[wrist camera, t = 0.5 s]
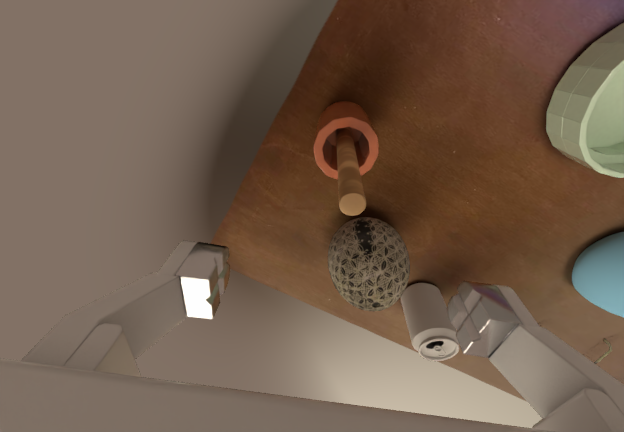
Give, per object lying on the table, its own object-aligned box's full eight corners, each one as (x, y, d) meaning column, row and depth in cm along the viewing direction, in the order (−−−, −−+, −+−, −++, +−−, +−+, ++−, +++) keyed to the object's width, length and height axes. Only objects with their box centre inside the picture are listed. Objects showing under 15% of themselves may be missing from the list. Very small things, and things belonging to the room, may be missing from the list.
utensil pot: (348, 89, 35) (352, 102, 27) (379, 131, 37) (391, 155, 30) (307, 125, 38) (300, 146, 30) (338, 162, 40) (340, 191, 33)
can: (428, 274, 51) (452, 331, 41) (445, 296, 54) (471, 355, 44) (392, 289, 54) (406, 347, 44) (410, 310, 57) (427, 369, 47)
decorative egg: (394, 195, 43) (420, 261, 30) (401, 252, 49) (425, 327, 36) (321, 209, 45) (317, 276, 32) (336, 262, 51) (337, 335, 38)
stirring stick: (344, 118, 36) (355, 187, 20) (353, 130, 37) (371, 206, 20) (332, 128, 37) (333, 203, 20) (341, 139, 38) (349, 220, 21)
